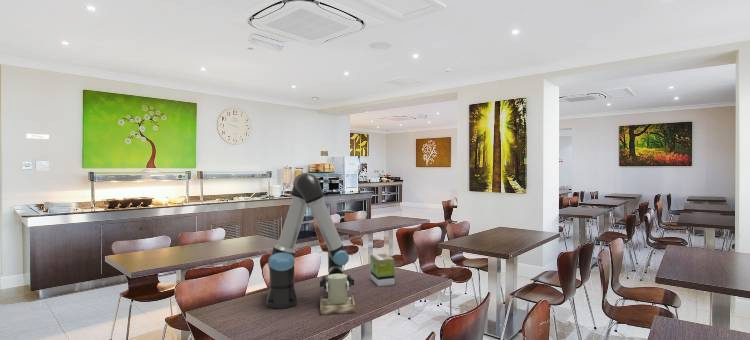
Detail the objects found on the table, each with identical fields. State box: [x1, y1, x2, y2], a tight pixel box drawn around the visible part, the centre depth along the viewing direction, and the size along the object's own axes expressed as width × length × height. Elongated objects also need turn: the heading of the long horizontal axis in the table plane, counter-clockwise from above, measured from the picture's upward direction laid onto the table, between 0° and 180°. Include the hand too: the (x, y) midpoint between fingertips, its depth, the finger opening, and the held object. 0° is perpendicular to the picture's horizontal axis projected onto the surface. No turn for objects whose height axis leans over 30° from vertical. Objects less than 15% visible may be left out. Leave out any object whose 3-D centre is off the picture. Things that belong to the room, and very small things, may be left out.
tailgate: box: [322, 296, 351, 301], centre depth 202 cm, size 16×4×1 cm, turn 97°
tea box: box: [369, 253, 396, 287], centre depth 234 cm, size 15×10×15 cm
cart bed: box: [319, 294, 356, 315], centre depth 192 cm, size 16×16×4 cm
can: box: [326, 273, 348, 304], centre depth 192 cm, size 9×9×12 cm
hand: (337, 288), depth 187 cm, fingers closed on can, 9 cm apart
